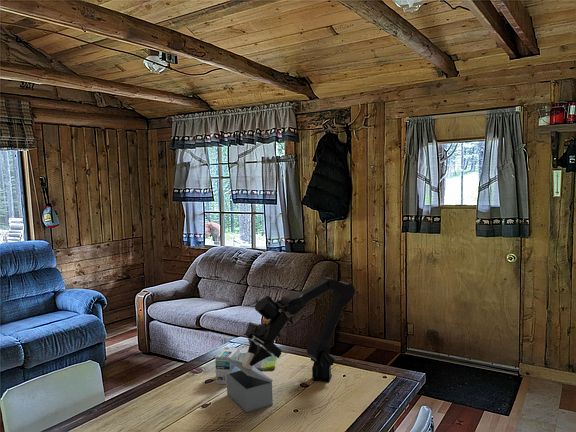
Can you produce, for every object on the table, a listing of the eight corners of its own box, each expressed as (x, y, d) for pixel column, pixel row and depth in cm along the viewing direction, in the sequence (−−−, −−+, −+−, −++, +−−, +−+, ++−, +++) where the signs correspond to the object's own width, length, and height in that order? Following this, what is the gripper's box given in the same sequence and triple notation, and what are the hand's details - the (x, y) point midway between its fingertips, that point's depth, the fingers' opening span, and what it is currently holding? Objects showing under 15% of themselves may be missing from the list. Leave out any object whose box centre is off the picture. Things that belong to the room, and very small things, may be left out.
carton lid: (250, 366, 170) (256, 351, 171) (271, 382, 155) (278, 366, 156) (228, 359, 165) (234, 344, 166) (247, 375, 151) (254, 358, 152)
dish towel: (275, 372, 185) (274, 365, 185) (215, 373, 186) (215, 366, 186) (277, 356, 202) (277, 350, 202) (222, 357, 203) (222, 351, 203)
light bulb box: (232, 385, 173) (231, 357, 172) (215, 384, 175) (214, 356, 174) (240, 373, 184) (239, 347, 183) (224, 372, 185) (223, 346, 184)
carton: (252, 388, 170) (251, 367, 169) (272, 405, 156) (271, 382, 156) (227, 395, 165) (226, 373, 164) (246, 413, 151) (245, 390, 151)
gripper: (248, 308, 169) (221, 343, 164) (272, 320, 153) (244, 359, 148) (267, 325, 174) (242, 359, 169) (293, 338, 158) (266, 377, 153)
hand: (247, 363), depth 160 cm, fingers open, 4 cm apart
